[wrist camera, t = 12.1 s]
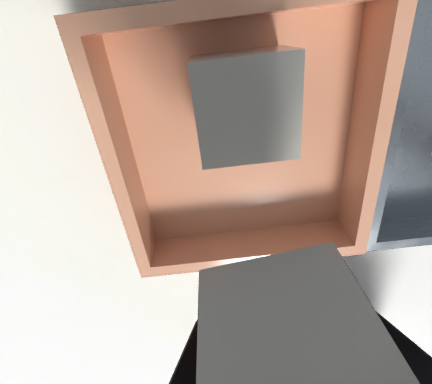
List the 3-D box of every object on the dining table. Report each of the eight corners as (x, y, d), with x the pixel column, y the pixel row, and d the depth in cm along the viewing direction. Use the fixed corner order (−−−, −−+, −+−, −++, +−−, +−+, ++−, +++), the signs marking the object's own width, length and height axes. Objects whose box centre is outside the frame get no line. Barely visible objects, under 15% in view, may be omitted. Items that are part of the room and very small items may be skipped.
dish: (377, -18, 12) (424, -32, 10) (343, 223, 19) (365, 253, 16) (85, 19, 13) (53, 15, 10) (150, 243, 19) (141, 277, 16)
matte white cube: (278, 44, 13) (305, 48, 9) (278, 129, 15) (300, 158, 11) (191, 55, 13) (186, 63, 9) (203, 138, 15) (202, 169, 11)
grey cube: (332, 241, 8) (429, 399, 5) (337, 326, 10) (408, 482, 7) (199, 270, 8) (194, 435, 5) (228, 346, 10) (240, 503, 7)
